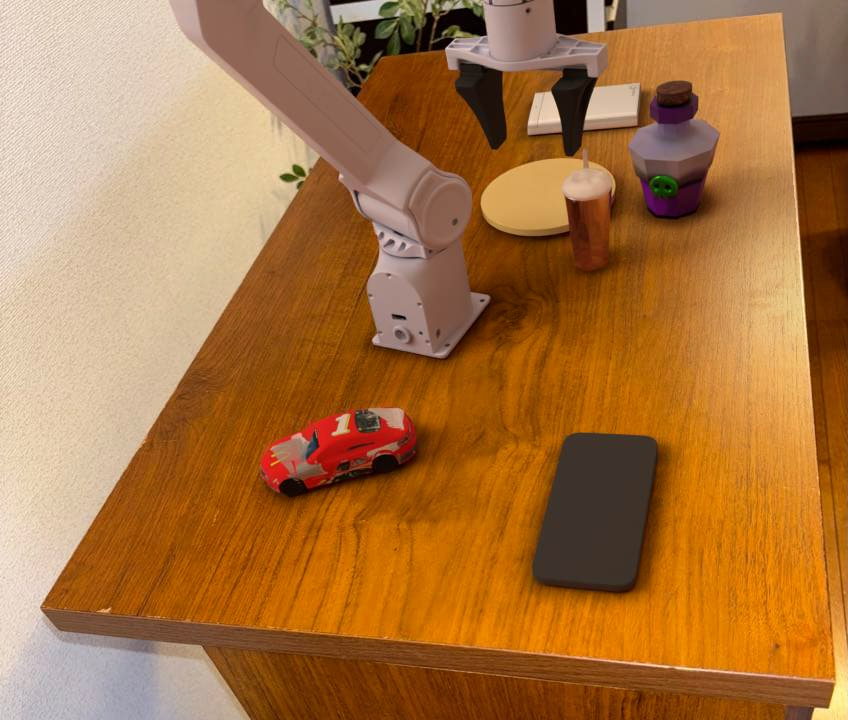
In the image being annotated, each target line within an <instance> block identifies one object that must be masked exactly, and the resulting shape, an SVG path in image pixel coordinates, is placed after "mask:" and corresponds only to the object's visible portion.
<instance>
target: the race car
mask: <svg viewBox="0 0 848 720" xmlns="http://www.w3.org/2000/svg"><path fill="white" fill-rule="evenodd" d="M417 449H419V444H418V438H417V432H416V428H415V424H414V423H413V421H412V419H411V417H410V416H409V415H407V413H406V411H405V410H404V409H403V408H401V407H399V406H384V407H371V408H370V407H369V408H361V409H353V410H347V411H344V412H339V413H337V414H333V415H329V416H326V417H323V418H321V419H318V420H316V421H314V422H313V421H312V420H309V422H308V426H307V427H306V428H304V429H303V430H300V431H297V432H295V433H292V434H289V435H287V436H284V437H282V438H279V439H278V440H276V441H274V442H273V443H271V444H270V445H269V446H268V447H267V449H266V450H265V452H264V454H263V455H262V457H261V460H260V469H259V470H260V475H261V477H262V480H263V481H264V483H265V484H266V485H267V486H268V488H269V489H271V490H273V491H274V492H276V493H278V494H281V492H282V493H283V494H284V495H287V496H289V497H290V496H292V497H294V496H297V495H300V494H301V493H302V492H303V491H304V489H305V487H306V489H312V488H315V487H316V488H317V487H321V486H323V485H327V484H332V483H336V482H339V481H340V482H341V481H344V480H347V479H351V478H355V477H359V476H364V475H367V474H370V473H374V469H375V471H377V472H379V473H388V472H391V471H393V469H395V467H396V465H397V463H398V465H401V464H404V463H405V462H407V461H408V460H410V459H411V458H412V457H413V456H414V455H415V454H416V453H417ZM373 468H374V469H373Z"/></svg>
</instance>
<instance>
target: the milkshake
mask: <svg viewBox="0 0 848 720" xmlns="http://www.w3.org/2000/svg"><path fill="white" fill-rule="evenodd" d="M582 160H583V168H584V169H583V170H579V171H575V172H573V173H571V174H570V175H569V176H568V177H567V178H566V179H565V180H564V182H563V184H562V194H563V199H564V204H565V209H566V214H567V219H568V224H569V230H570V231H569V234H570V235H569V236H570V241H571V247H572V254H573V260H574V265H575V267H576V268H577V269H579V270H581V271H583V272H584V271H585V272H593V271H598V270H601V269H604V267H606V266H607V265H608V264H609V260H610V259H609V258H610V256H609V255H610V227H611V225H610V224H611V210H612V205H611V198H612V178H611V176H610V174H608V173H607V172H605V171H602V170H601V169H597V168H594V169H589V163H588V161H589V149H588V147H583V148H582Z"/></svg>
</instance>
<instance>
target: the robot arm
mask: <svg viewBox="0 0 848 720" xmlns="http://www.w3.org/2000/svg"><path fill="white" fill-rule="evenodd" d="M481 2H482V6H483V7H482V8H483V15H484V19H485V20H484V22H485V29H486V35H483V36H475V37H469V38H468V37H466V38H465V37H463V38H457V37H456V38H454V39H453V40H452V41H451V42H450V43H449V44H448V45H447V46H446V47H445V48H444V50H445V56H446V61H447V66H448V70H449V71H459V76H458V77H457V78H456V79H455V81H454V83H453V84H454V88H455V92H456V93H457V94H458V95H459V96H460V97H461V98H462V99H463V100H464V102H465V103H466V104H467V105H468V107H469V108H470V109H471V111H472V112H473V114H474V115H475V117H476V120H477V121H478V123H479V125H480V126H481V127H480V128H481V129H482V131H483V133H484V135H485V138H486V140H487V143H488V145H489V147H490V150H492V151H493V150H494V151H497V150H499V148H500V147H502V145H503V144H504V143H505V142H506V141H507V138H508V129H507V128H508V127H507V119H506V113H505V105H504V91H503V90H504V89H503V83H504V81H503V76H504V72H505V73H517V72H527V71H541V72H557V73H558V72H559V73H560V72H561V73H562V76H561V77H559V78H558V80H557V81H556V82H555V83H554V84H553V85H552V87H551V88H550V91H551V93H552V95H553V98H554V100H555V103H556V106H557V109H558V112H559V116H560V121H561V127H562V132H561V136H562V146H563V151H564V155H565V157H567V158H568V157H569V158H572V157H574V156H575V155H576V154H577V152H578V151H579V150H580V149H581V148H582V144H583V135H584V130H583V128H584V122H585V117H586V113H587V109H588V105H589V102H590V99H591V96H592V93H593V90H594V87H596V84H597V82H598V80H599V78H600V77H601V75H602V74H604V72H605V71H606V69H607V68H608V67H609V57H608V54H609V53H608V43H602V42H594V41H589V40H585V39H580V38H576V37H573V36H569V35H565V34H561V33H557V29H556V18H555V9H554V8H555V7H554V0H481ZM168 3H169V6H170V9H171V10H172V13H173V15H174V18H175V20H176V22H177V23H176V24H177V25H178V27H179V30H180V31H181V32H182V33H183V34H184V36H185V37H186V39H188V41H189V42H190V43H192V45H194V46H195V47H196V48H197V49H199V51H201V52H202V53H203V54H204V55H205V56H206V57H208V58H209V59H210V60H211V61H212V62H213V63H215V64H216V65H217V66H218V67H219V68H220V69H221V70H222V71H224V72H225V74H227V75H228V76H229V77H230V78H231V79H233V80H234V81H235V82H236V83H237V84H238V85H239V86H240V87H242V88H243V89H244V90H245V91H246V92H248V93H249V94H250V95H251V96H252V97H253V98H254V99H255V100H256V101H257V102H258V103H260V104H261V105H262V106H263V107H264V108H266V109H267V110H268V112H270V113H271V114H272V115H273V116H275V117H276V118H277V119H278V120H279V121H280V122H281V123H283V124H284V126H286V127H287V128H288V129H289V130H290V131H291V132H293V133H294V134H295V135H296V136H297V137H298V138H300V139H301V140H302V141H303V142H304V143H305V144H306V145H308V147H310V148H311V149H312V150H313V151H314V152H315V153H316V154H318V155H319V156H320V157H321V158H322V159H323V160H325V162H327V163H328V164H330V166H331V167H332V168H334V170H336V171H337V172H338V173H339V175H338V181H339V182H340V183H341V184H342V185H343V186H345V187H346V188H347V190H348V191H349V193H350V196H351V198H352V200H353V204H354V206H355V208H356V210H357V211H358V212H359V214H360V215H361V216H362V217H364V218H365V219H367V220H369V221H371V222H372V227H373V230H374V234H375V235H376V237H377V240H378V244H379V246H378V247H379V248H378V250H379V254H378V259H377V263H376V266H375V267H374V270H373V271H372V273H371V275H370V276H369V278H368V281H367V283H366V295H367V298H368V302H369V306H370V310H371V314H372V317H373V321H374V325H375V330H376V332H377V333H376V334H375V335H374V337H372V339H371V341H372V344H373V345H374V346H378V347H382V348H383V347H384V348H389V349H393V350H398V351H403V352H408V353H412V354H418V355H422V356H426V357H433V358H436V359H445V358H447V357H448V356H449V355H450V353H451V352H452V351H453V350H454V348H455V347H456V346H457V344H458V343H459V342H460V341H461V339H462V338H463V337H464V336H465V334H466V333H467V332H468V330H469V329H470V327H472V325H473V324H474V323H475V321H476V320H477V319H478V318H479V316H480V315H481V314H482V312H483V311H484V310H485V309H486V307H487V306H488V305H489V303H490V302H491V296H490V295H488V294H484V293H480V292H479V293H478V292H473V291H471V288H470V281H469V275H468V271H467V270H468V269H467V264H466V259H465V253H464V247H463V242H462V238H463V237H464V236H465V230H466V229H467V227H468V224H469V222H470V219H471V216H472V213H473V194H472V191H471V188H470V185H469V184H468V182H467V181H466V180H465V179H464V177H462V176H461V175H459V174H458V173H457V174H456V173H453V172H448V171H444V170H441V169H439V168H437V167H436V166H435V164H433V163H432V162H431V161H430V160H428V159H427V158H425V157H424V156H423V155H421V154H420V153H418V152H416V151H415V150H413V149H412V148H410V147H409V146H407V145H406V144H404V143H403V142H401V141H400V140H399V139H397V138H396V137H395V135H393V134H392V133H391V132H390V131H389V130H388V129H387V128H386V127H385V126H384V125H383V124H382V123H381V121H379V120H378V119H377V118H376V117H375V116H374V114H372V113H371V111H369V110H368V109H367V108H366V107H365V106H364V105H363V104H362V103H361V102H360V101H359V100H358V99H357V98H356V97H355V96H354V95H353V94H352V93H351V92H350V91H349V90H348V89H347V88H346V87H345V86H344V85H343V84H342V83H341V82H340V80H338V79H337V78H336V77H335V76H334V75H333V74H332V73H331V72H330V71H329V70H328V68H326V67H325V66H324V65H323V64H322V63H321V62H320V61H319V60H318V59H317V58H316V57H315V56H314V55H313V54H312V53H311V52H310V51H309V50H308V49H307V48H306V47H305V46H304V45H303V44H302V43H301V42H300V41H299V40H298V39H297V38H296V37H295V36H294V35H293V34H292V33H291V32H290V31H289V30H288V29H287V28H286V27H285V26H284V25H283V24H282V23H281V22H280V21H279V20H278V19H277V18H276V17H275V16H274V15H273V14H272V13H271V12H270V11H269V10H268V9H267V8H266V7H265V5H264V0H168Z"/></svg>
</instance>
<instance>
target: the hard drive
mask: <svg viewBox="0 0 848 720" xmlns="http://www.w3.org/2000/svg"><path fill="white" fill-rule="evenodd" d="M641 99H642V84H641V82H634V83H625V84H615V85H614V84H613V85H603V86H595V87H594V90H593V93H592V96H591V99H590V102H589V105H588V109H587V113H586V117H585V122H584V128H583V131H593V130H594V131H595V130H605V129H615V128H627V127H629V128H630V127H638V125H639V116H640V109H641V108H640V107H641ZM556 133H558V134H560V133H562V127H561V121H560V116H559V112H558V109H557V106H556V103H555V100H554V98H553V95H552V93H551V90H550V91H543V92H535V93H534V97H533V100H532V105H531V109H530V113H529V116H528V120H527V136H536V135H546V134H547V135H548V134H556Z"/></svg>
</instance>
